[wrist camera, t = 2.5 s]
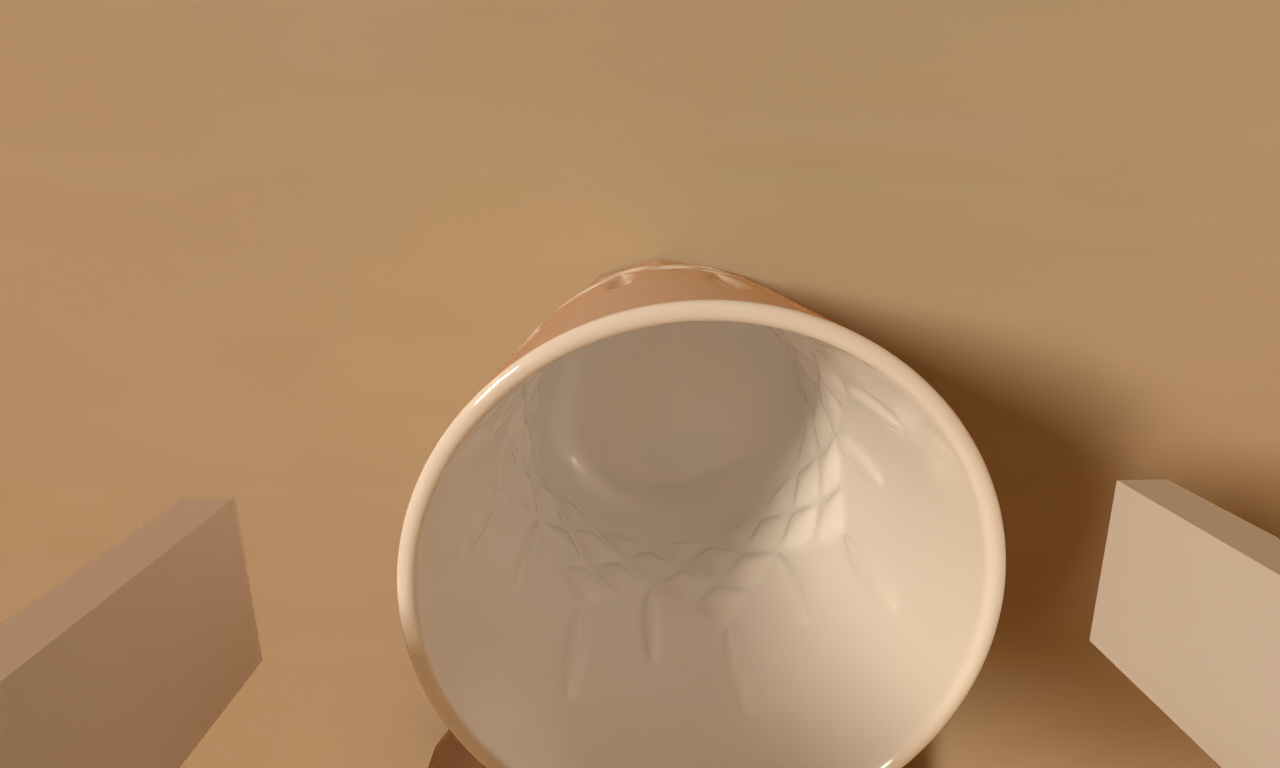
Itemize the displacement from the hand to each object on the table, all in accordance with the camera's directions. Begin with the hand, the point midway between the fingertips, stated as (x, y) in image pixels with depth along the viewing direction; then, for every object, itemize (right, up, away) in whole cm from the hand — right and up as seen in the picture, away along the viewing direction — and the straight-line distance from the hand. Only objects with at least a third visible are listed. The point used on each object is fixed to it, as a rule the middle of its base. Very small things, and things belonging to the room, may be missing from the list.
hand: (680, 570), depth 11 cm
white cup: (0, +3, +8) cm, 9 cm away
